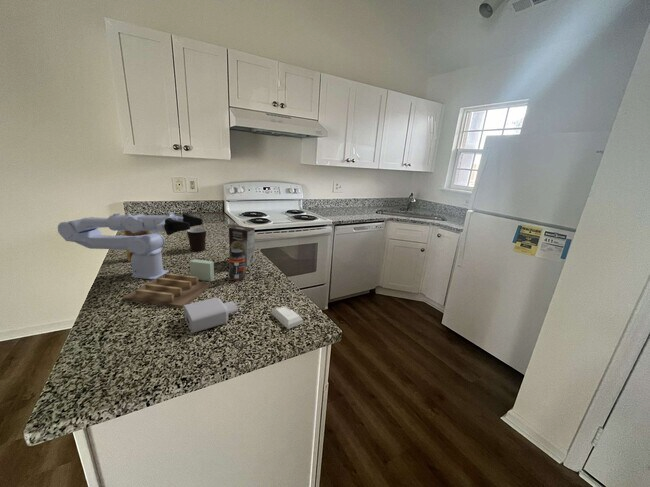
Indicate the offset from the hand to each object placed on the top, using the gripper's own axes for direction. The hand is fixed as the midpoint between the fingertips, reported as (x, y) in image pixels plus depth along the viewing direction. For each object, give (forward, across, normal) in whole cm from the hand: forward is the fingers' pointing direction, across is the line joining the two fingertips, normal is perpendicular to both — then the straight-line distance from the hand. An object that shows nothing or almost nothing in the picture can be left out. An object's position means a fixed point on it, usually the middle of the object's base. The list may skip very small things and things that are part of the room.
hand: (195, 223), depth 94 cm
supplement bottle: (+10, +6, +23) cm, 26 cm away
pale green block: (-2, +2, +22) cm, 22 cm away
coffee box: (+5, +22, +22) cm, 32 cm away
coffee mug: (-22, +33, +20) cm, 44 cm away
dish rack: (-6, -11, +21) cm, 25 cm away
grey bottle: (+16, -21, +24) cm, 35 cm away
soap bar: (+36, -17, +26) cm, 47 cm away
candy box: (-37, +13, +19) cm, 43 cm away
